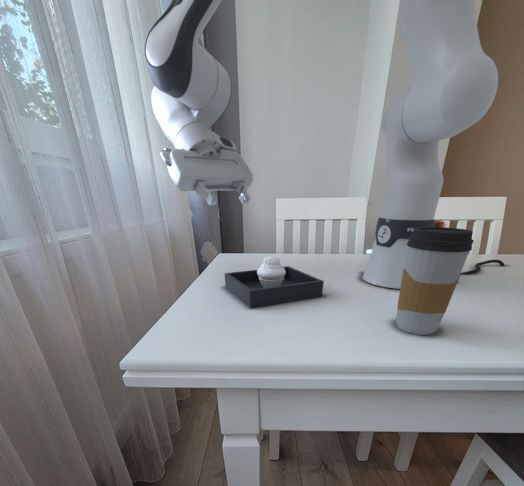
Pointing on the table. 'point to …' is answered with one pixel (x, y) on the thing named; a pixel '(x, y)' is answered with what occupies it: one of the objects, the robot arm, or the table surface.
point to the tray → (290, 289)
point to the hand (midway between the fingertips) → (231, 202)
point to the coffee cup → (430, 276)
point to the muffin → (271, 272)
